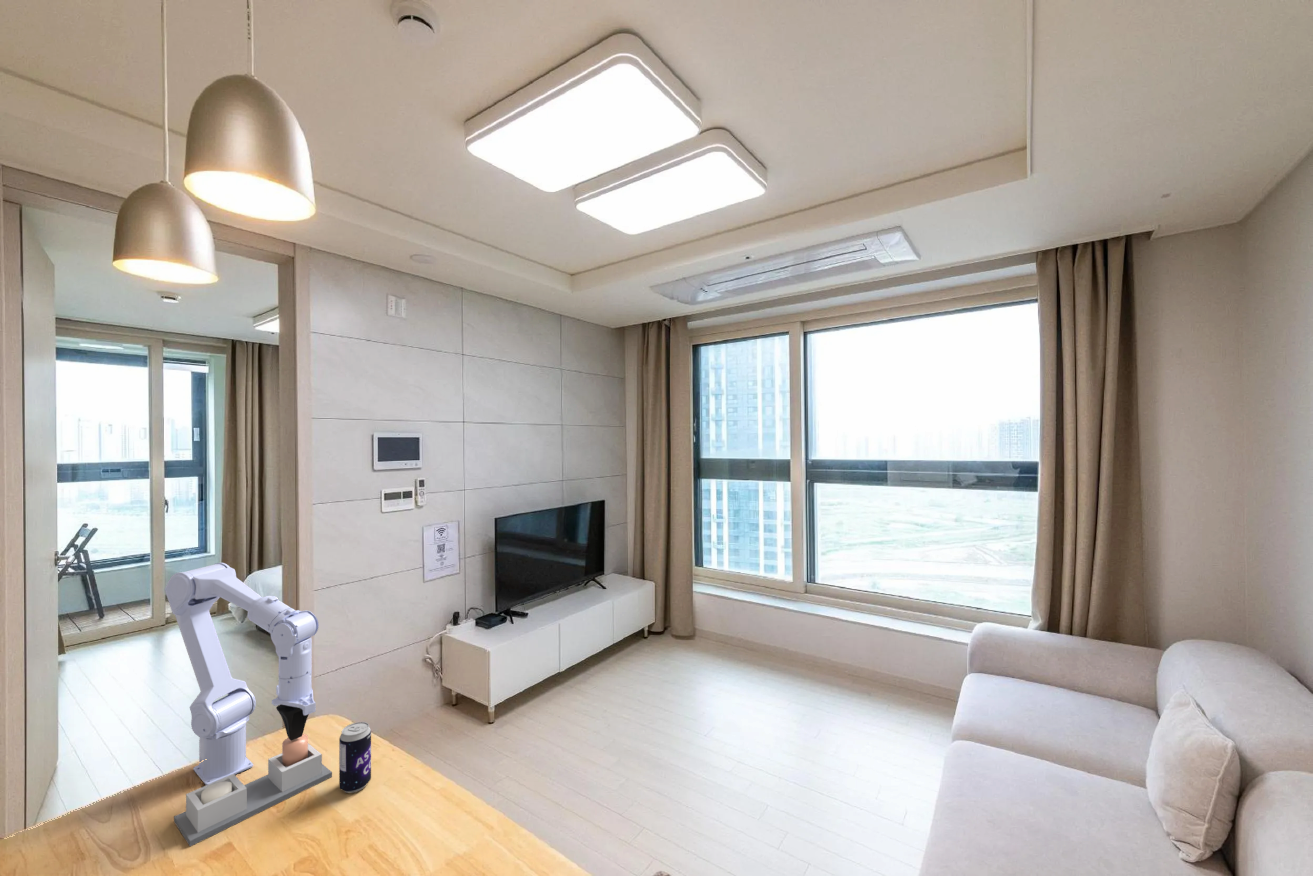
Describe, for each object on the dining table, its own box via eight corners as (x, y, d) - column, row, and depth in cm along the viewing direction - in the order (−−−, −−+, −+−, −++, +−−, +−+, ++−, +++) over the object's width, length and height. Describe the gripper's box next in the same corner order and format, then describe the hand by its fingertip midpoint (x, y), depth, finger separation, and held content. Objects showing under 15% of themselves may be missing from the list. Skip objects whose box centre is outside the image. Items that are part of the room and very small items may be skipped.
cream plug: (198, 813, 98) (198, 791, 98) (227, 799, 102) (227, 778, 102) (205, 823, 95) (205, 800, 95) (235, 809, 99) (235, 787, 99)
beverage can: (356, 797, 104) (356, 738, 104) (332, 793, 105) (332, 734, 105) (377, 779, 110) (377, 722, 110) (354, 775, 111) (354, 719, 111)
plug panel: (174, 821, 97) (174, 795, 97) (311, 759, 116) (311, 737, 116) (189, 846, 92) (189, 818, 92) (331, 776, 110) (332, 753, 110)
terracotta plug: (278, 761, 109) (278, 741, 109) (302, 751, 112) (302, 731, 112) (287, 769, 106) (287, 748, 106) (311, 758, 110) (311, 738, 110)
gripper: (259, 670, 110) (259, 734, 110) (287, 690, 101) (287, 759, 102) (297, 658, 116) (297, 719, 116) (326, 676, 107) (326, 742, 107)
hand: (295, 737), depth 109 cm, fingers closed
